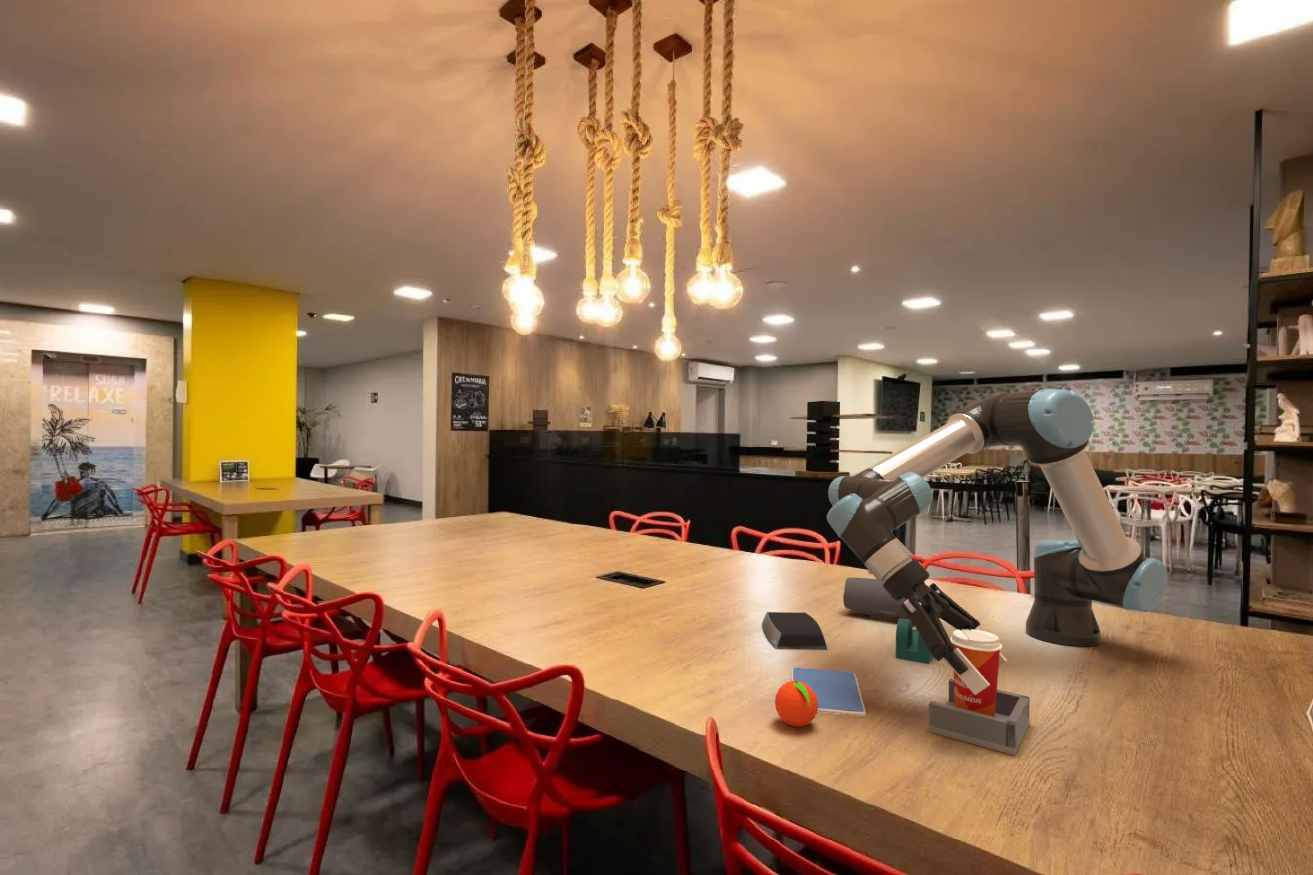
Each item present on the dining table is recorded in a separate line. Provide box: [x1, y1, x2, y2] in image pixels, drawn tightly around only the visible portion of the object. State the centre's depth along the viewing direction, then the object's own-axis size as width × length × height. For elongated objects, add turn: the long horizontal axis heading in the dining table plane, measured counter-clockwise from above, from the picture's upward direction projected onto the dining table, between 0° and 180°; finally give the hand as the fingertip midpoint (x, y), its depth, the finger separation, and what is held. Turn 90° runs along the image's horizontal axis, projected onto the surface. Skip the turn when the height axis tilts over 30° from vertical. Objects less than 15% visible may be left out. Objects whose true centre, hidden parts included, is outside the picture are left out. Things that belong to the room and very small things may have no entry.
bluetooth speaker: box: [842, 577, 941, 623], centre depth 165 cm, size 23×9×10 cm, turn 58°
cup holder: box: [928, 678, 1031, 756], centre depth 104 cm, size 12×13×4 cm
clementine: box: [774, 680, 818, 728], centre depth 104 cm, size 8×7×7 cm
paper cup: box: [949, 629, 1003, 717], centre depth 104 cm, size 8×8×14 cm
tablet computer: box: [790, 667, 867, 717], centre depth 118 cm, size 19×13×1 cm, turn 168°
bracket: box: [895, 618, 934, 665], centre depth 142 cm, size 18×7×8 cm, turn 148°
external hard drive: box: [761, 611, 828, 651], centre depth 151 cm, size 13×19×4 cm
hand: (991, 677), depth 102 cm, fingers open, 13 cm apart
